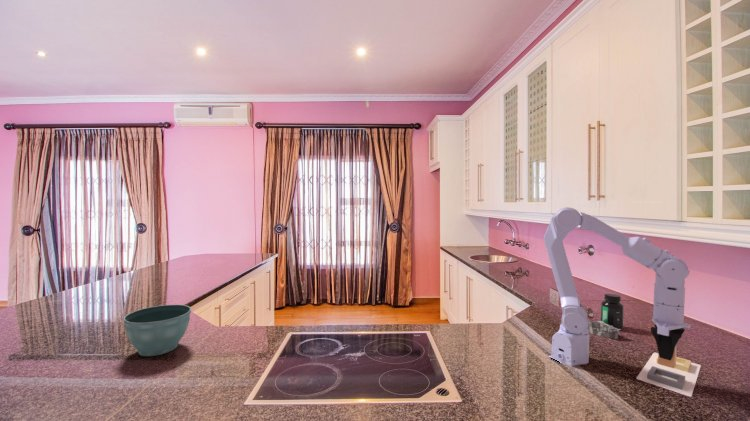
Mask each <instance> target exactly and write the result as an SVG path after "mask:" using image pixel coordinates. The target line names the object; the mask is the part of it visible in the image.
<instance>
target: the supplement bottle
mask: <svg viewBox="0 0 750 421" xmlns="http://www.w3.org/2000/svg"><path fill="white" fill-rule="evenodd" d="M621 301H622V299H621V295H619V294H615V293H604V300H603V301H601V303H600V321H603V322H604V323H606V324H608V325H610V326H613V327H615V328H617V329H620V330H619V331H622V330H623V329H624V314H625V312H624V311H625V306H624V305H623V303H621Z"/></svg>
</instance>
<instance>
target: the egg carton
mask: <svg viewBox="0 0 750 421" xmlns="http://www.w3.org/2000/svg"><path fill="white" fill-rule="evenodd" d="M587 329H589V331H590V333H589V334H592V335H596V336H598V337H603V338H605V339H614V340H618V339H619V331H621V330H620V329H617V328H615V327H613V326H610V325H608V324H606V323H604V322H603V321H601V320H593V321H592V320H588V328H587Z"/></svg>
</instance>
